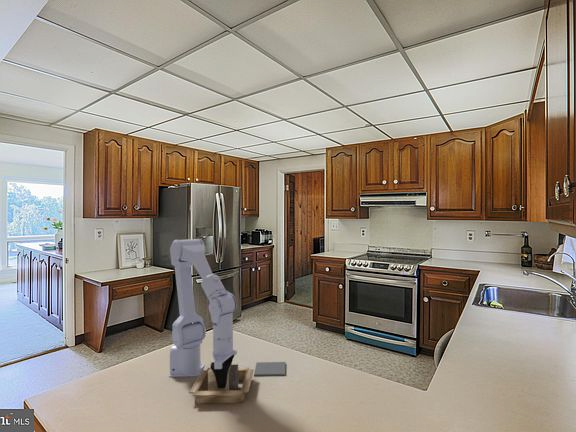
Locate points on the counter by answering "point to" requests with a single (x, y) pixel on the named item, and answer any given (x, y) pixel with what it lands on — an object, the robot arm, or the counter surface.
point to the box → (231, 380)
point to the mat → (270, 369)
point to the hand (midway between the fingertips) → (223, 383)
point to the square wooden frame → (221, 396)
